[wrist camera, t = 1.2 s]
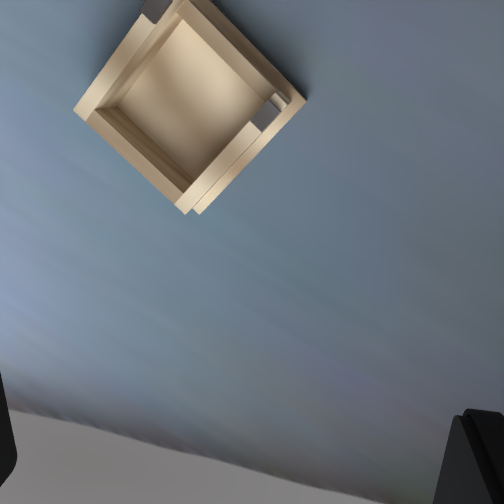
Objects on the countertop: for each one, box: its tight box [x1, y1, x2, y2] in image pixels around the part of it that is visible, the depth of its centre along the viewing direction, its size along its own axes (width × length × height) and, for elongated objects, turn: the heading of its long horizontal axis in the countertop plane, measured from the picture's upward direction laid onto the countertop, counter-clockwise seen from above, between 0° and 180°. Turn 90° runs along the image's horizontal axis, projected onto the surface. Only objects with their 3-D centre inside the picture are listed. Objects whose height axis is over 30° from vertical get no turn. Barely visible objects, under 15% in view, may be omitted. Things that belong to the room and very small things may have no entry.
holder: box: [73, 0, 307, 215], centre depth 30 cm, size 11×11×5 cm
